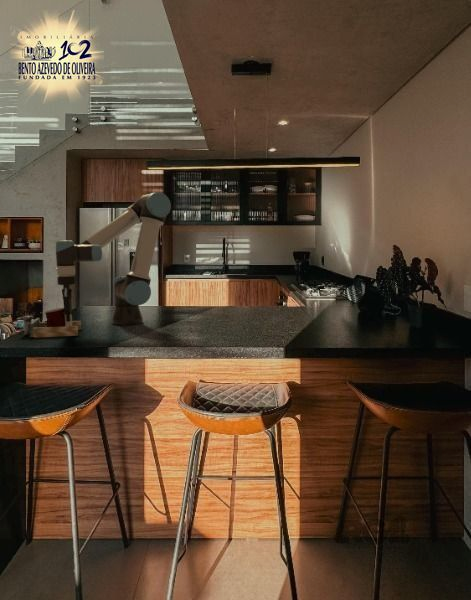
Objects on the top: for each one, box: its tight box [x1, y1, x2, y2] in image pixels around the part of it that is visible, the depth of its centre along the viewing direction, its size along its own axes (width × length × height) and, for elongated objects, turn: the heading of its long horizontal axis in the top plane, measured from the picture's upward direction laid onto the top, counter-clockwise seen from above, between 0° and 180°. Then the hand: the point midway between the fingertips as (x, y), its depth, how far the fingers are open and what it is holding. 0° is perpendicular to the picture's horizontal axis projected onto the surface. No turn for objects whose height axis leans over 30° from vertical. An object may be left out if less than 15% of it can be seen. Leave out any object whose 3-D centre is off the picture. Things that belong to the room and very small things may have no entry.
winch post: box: [21, 315, 34, 336], centre depth 216 cm, size 4×4×8 cm
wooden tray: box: [29, 317, 82, 338], centre depth 219 cm, size 19×16×6 cm
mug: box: [44, 307, 65, 327], centre depth 219 cm, size 11×8×10 cm
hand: (69, 328), depth 220 cm, fingers closed
